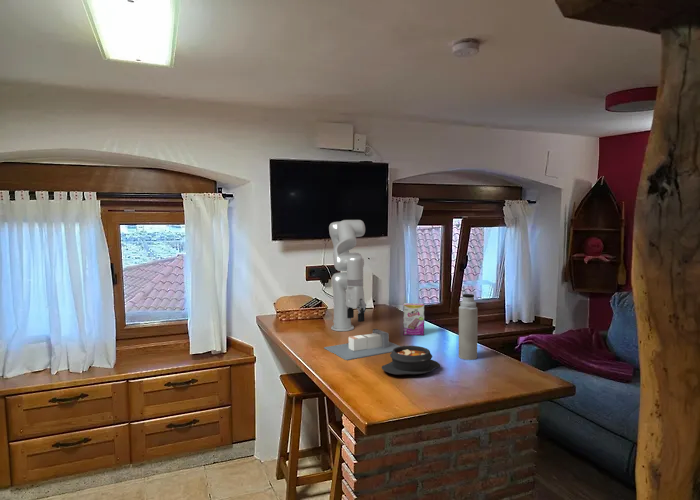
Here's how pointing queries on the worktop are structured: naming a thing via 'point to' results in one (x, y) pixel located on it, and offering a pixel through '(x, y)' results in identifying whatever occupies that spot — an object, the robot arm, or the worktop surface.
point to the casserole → (410, 361)
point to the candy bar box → (413, 318)
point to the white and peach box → (357, 342)
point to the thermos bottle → (468, 328)
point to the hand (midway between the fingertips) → (355, 319)
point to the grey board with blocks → (375, 346)
